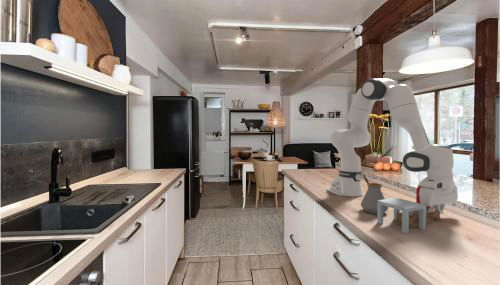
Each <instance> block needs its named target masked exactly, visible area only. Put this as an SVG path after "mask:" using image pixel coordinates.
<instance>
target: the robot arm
mask: <svg viewBox="0 0 500 285" xmlns="http://www.w3.org/2000/svg"><path fill="white" fill-rule="evenodd" d="M416 100H417V99H416V97H415V94H414V92H413V91H412V89H411V87H410V86H409V85H408V84H402V83H401V82H400V81H398V80H396V79H393V78H391V79H390V78H385V77H384V78H375V77H374V78H370V79H367V80H365V81H364V82H363V84H362V86H361V87H360V88H359V89H358V90H357V92H356V93H355V95H354V97H353V100H352V103H350V104H351V105H350V108H349V110H348V114H347V120H348V122H349V123H350V124H351V126H350V128H346V129H345V128H343V129H342V128H341V129H337V130H334V131H333V132H332V133H331V135H330V142H331V144H332V146H333V147H335V148H336V150H337V152H338V155H339V158H340V170H338V171H337V173H338V176H336V177H335V178H333V179H332V180H331V181H330V186H329V187H327V188H326V191H328V192H330V193H332V194H335V195H337V196H340V197H353V198H355V197H364V196H365V194H364V190H363V185H362V184H363V183H362V176H363V174H362V168H361V166H362V163H361V162H362V159H361V157H360V156H359V155H358V154H357V153H356V151H355V148H362V147H365V146H368V145H369V144H370V143H371V140H372V135H371V133H370V132H369V130H368V123H369V119H370V116H371V113H372V111H373V107H374V105H375V102H377V101H385V102H387V104H388V108H389V111H390V112H389V113H390V116H391V118H392V120H393V122H394V124H395V125H397V126H399V127H401V128H402V129H404V130H405V131H406V132H407V133H408V134H409V136H410V139H411V142H412V145H413V148H414V150H413V151H412V150H411V151H409V152H407V153H405V154H404V155H403V156H402V165H403V167H404V168H405V169H406V170H408V171H409V172H413V173H420V172H426V177H424V178H423V179H422V180H420V181H419V184H418V185H420V186H421V189H420V203H421V204H423V205H426V206H429V207H430V206H433V207H434V210H435V211H439V212H440V215H442V214H444V209H445V207H446V204H450V203H455V202H457V201H458V200H459V199H458V198H459V196H458V187H457V185H456V183H455V181H454V173H453V168H454V163H455V162H454V152H453V149H452V148H451V146H448V145H445V144H438V143H431V144H430V141H429V138H428V135H427V132H426V129H425V127H424V125H423V121H422V118H421V114H420V111H419V107H418V102H417V101H416ZM361 175H362V176H361Z"/></svg>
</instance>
